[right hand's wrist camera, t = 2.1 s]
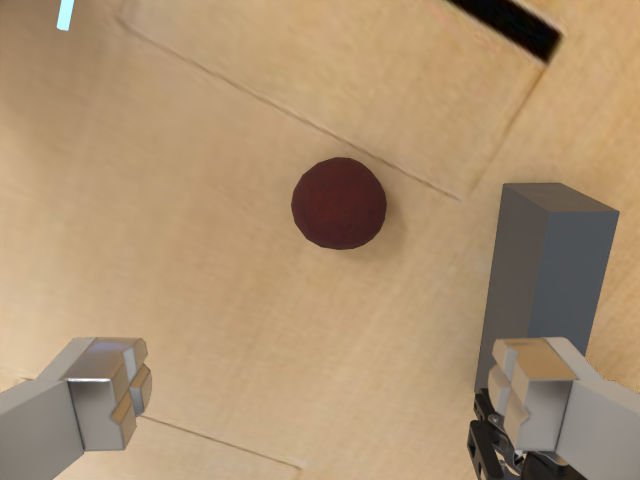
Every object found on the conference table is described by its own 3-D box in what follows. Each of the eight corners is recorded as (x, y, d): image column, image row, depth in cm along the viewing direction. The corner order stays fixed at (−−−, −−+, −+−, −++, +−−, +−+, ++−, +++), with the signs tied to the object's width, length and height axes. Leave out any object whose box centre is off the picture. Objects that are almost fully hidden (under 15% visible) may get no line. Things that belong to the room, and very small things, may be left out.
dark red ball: (379, 229, 41) (392, 261, 35) (294, 232, 41) (291, 264, 35) (380, 149, 39) (394, 166, 32) (290, 152, 39) (285, 170, 32)
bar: (503, 183, 40) (549, 212, 32) (560, 182, 40) (620, 211, 32) (473, 391, 48) (505, 454, 41) (521, 390, 48) (561, 453, 41)
